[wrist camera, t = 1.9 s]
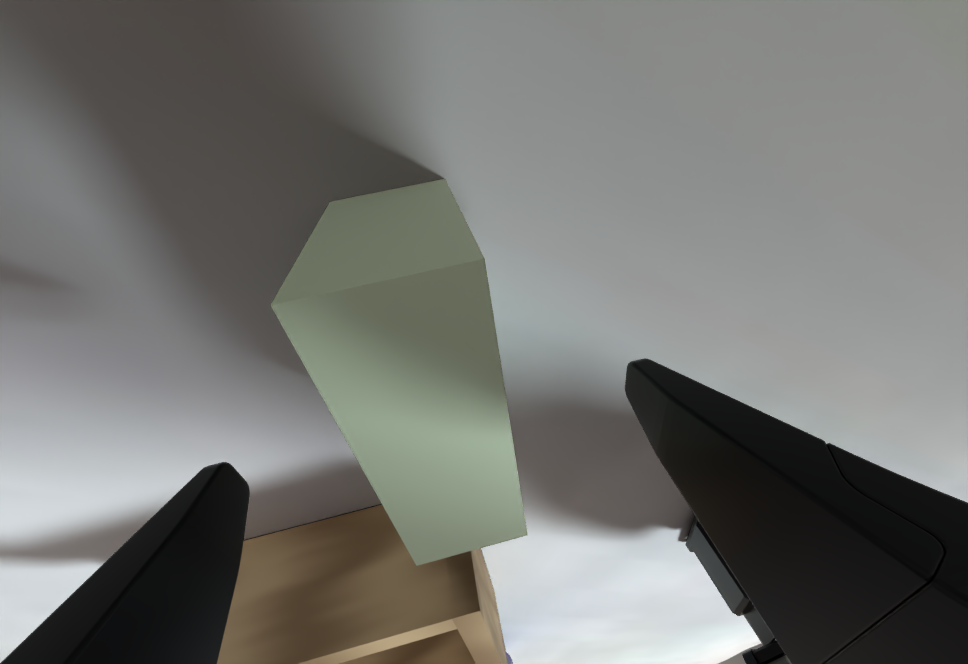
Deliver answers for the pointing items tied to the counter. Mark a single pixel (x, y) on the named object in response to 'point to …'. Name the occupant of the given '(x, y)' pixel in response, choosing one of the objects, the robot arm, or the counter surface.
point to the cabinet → (358, 600)
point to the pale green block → (410, 364)
